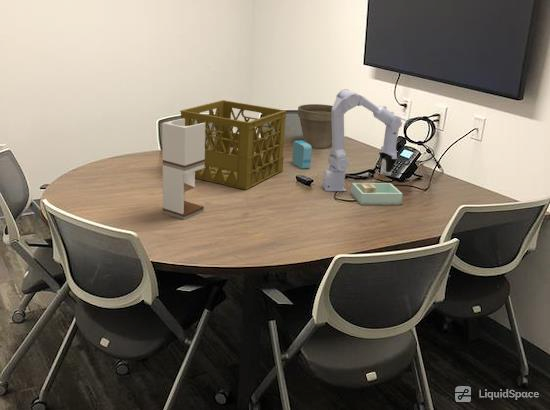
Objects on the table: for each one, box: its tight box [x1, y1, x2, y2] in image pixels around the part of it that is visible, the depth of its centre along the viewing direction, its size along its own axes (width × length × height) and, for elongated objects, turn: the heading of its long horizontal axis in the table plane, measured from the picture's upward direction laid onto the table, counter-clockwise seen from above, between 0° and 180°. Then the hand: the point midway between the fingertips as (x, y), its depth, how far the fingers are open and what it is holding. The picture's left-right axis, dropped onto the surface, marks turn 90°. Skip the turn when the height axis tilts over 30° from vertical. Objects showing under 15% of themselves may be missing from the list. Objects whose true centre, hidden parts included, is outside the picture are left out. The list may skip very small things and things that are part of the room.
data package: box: [291, 140, 313, 170], centre depth 288 cm, size 12×4×12 cm, turn 24°
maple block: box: [361, 184, 376, 193], centre depth 247 cm, size 5×5×5 cm
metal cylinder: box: [380, 158, 393, 177], centre depth 263 cm, size 5×5×7 cm
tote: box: [350, 182, 403, 206], centre depth 248 cm, size 18×14×5 cm
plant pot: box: [297, 103, 333, 149], centre depth 327 cm, size 25×25×22 cm
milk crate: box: [179, 99, 287, 190], centre depth 266 cm, size 36×35×30 cm
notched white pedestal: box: [161, 118, 206, 221], centre depth 215 cm, size 11×11×35 cm
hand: (386, 169), depth 264 cm, fingers closed on metal cylinder, 5 cm apart
